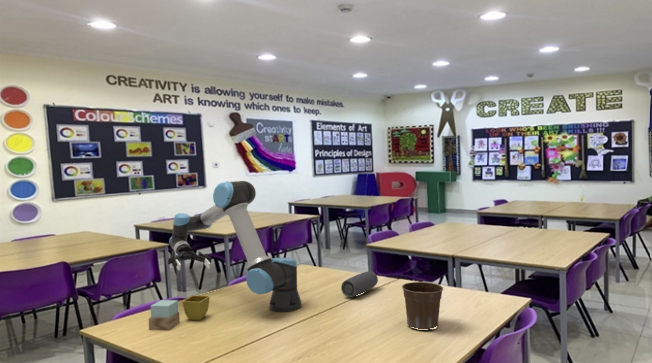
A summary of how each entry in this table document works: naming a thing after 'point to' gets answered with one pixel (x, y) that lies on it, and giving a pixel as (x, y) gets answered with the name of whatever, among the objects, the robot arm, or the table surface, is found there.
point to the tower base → (164, 322)
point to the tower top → (164, 309)
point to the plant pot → (422, 304)
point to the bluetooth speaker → (359, 283)
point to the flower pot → (196, 307)
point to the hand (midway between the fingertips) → (194, 267)
